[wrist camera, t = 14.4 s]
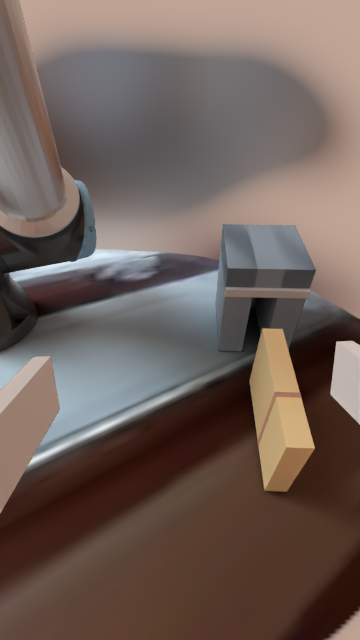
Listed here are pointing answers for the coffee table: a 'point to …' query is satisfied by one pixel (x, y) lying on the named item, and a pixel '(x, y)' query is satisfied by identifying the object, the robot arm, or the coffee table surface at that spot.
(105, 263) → the coffee table surface
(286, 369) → the taped cardboard box
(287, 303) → the dispenser
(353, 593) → the coffee table surface
